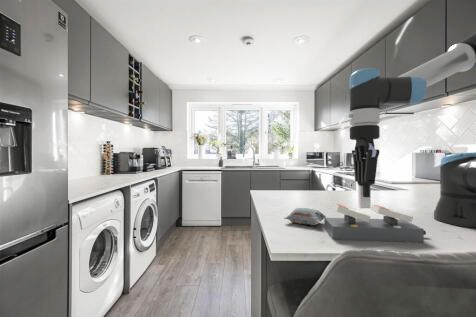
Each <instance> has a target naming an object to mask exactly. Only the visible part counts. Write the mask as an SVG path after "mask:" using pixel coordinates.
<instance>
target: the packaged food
mask: <svg viewBox="0 0 476 317" xmlns="http://www.w3.org/2000/svg"><path fill="white" fill-rule="evenodd" d="M324 218H327V216H326V215H324V213H322V212H321V211H320V210H317V209H313V208H306V207H305V208H303V207H297V208H295V209H293V210H292V211H291V212H290V213H289V215H286V216H285V217H283V219H284V220H285V219H286V220H289V221H290V222H291V223H294V224H299V225H305V226H317V225H318V224H320V222H321V221H323V220H324Z"/></svg>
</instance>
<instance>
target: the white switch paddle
mask: <svg viewBox="0 0 476 317" xmlns="http://www.w3.org/2000/svg"><path fill="white" fill-rule="evenodd" d="M332 209H333V210H334V211H335V212H337V213H339V214H343V215H348V216H352V217H354V218H358V219H361V220H364V221H367V222H369V220H370V219H371V216H370V215H368V214H367V213H365V212H363V211H360V210H357V209H353V208H351V207H347V206H346V205H342V204H339V203H336V202H335V203H333V205H332Z"/></svg>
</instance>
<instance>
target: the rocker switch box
mask: <svg viewBox="0 0 476 317" xmlns="http://www.w3.org/2000/svg"><path fill="white" fill-rule="evenodd" d="M343 215H344V216H343V217H326V218H324V219H323V220H324V221H323V222H324V223H323V224H324V227H323V228H324V230H325V232H326V233H327V234H328V235H329V237H330V238H331V240H344V241H345V240H346V241H370V242H375V241H376V242H397V241H405V243H406V241H409V242H408V243H424V239H425V238H424V235H427V232H426V230H425V229H424V228H422V227H420V226H418V225H417V224H416V225H415V224H414V223H413V222H408V221H404V220H401V219H397V218H393V217H389V216H386V215H382V216H383V218H370V220H369V222H367V221H364V220H361V219H358V218H355V217H352V216H348V215H345V214H343Z"/></svg>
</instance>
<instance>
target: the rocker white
mask: <svg viewBox="0 0 476 317" xmlns="http://www.w3.org/2000/svg"><path fill="white" fill-rule="evenodd" d="M370 211H373V213H376V214H378V215H382V216H389V217H393V218H395V219H398V220H404V221H408V222H410V223H413V219H414V216H412V215H409V214H407V213H405V212H403V211H398V210H396V209H395V210H394V209H390V208H386V207H384V206H380V205H377V204H371V209H370Z"/></svg>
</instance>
